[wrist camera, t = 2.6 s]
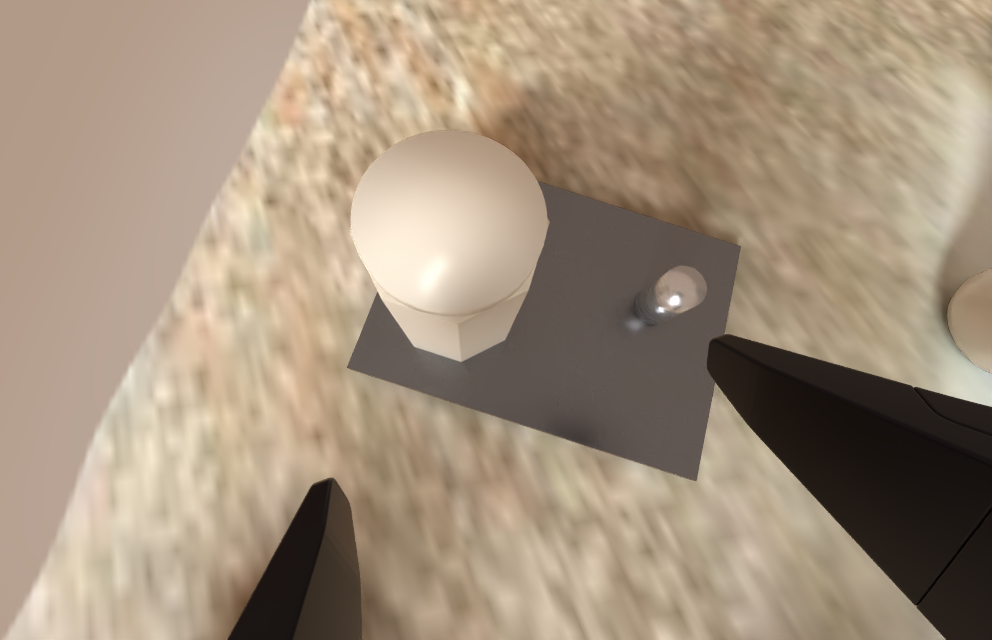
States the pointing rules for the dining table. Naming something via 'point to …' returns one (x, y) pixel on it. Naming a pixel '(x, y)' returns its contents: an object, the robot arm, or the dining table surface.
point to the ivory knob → (450, 238)
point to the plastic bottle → (973, 319)
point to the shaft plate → (591, 338)
